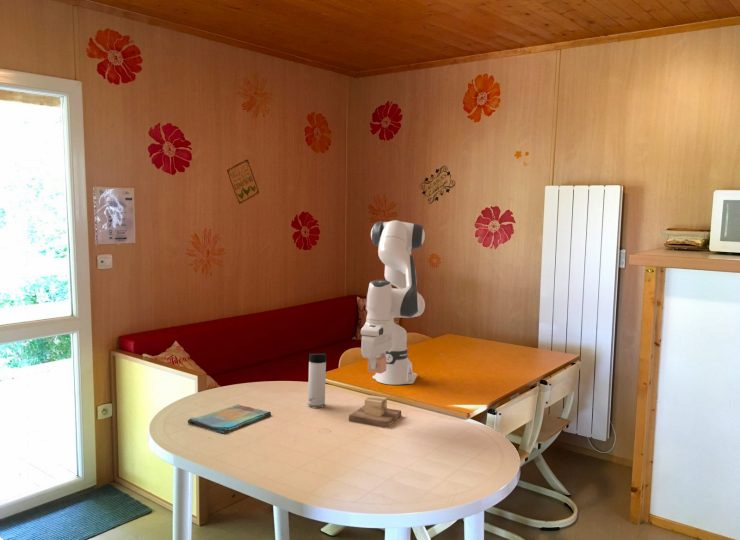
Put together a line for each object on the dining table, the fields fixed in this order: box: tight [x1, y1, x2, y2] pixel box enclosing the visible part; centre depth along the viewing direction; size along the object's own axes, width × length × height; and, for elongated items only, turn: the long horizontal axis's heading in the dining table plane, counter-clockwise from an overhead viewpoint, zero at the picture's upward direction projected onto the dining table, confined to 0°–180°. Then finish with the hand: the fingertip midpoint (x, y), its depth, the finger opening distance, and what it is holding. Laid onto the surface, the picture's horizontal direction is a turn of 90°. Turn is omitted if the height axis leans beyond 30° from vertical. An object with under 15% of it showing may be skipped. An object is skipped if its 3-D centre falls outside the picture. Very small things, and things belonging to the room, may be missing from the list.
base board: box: [348, 404, 402, 428], centre depth 208 cm, size 14×14×2 cm
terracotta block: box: [367, 355, 387, 374], centre depth 207 cm, size 5×5×5 cm
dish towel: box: [187, 403, 272, 435], centre depth 202 cm, size 17×23×2 cm
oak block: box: [364, 395, 388, 416], centre depth 208 cm, size 6×6×5 cm
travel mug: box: [307, 352, 327, 408], centre depth 220 cm, size 6×7×20 cm
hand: (377, 366), depth 207 cm, fingers closed on terracotta block, 5 cm apart
